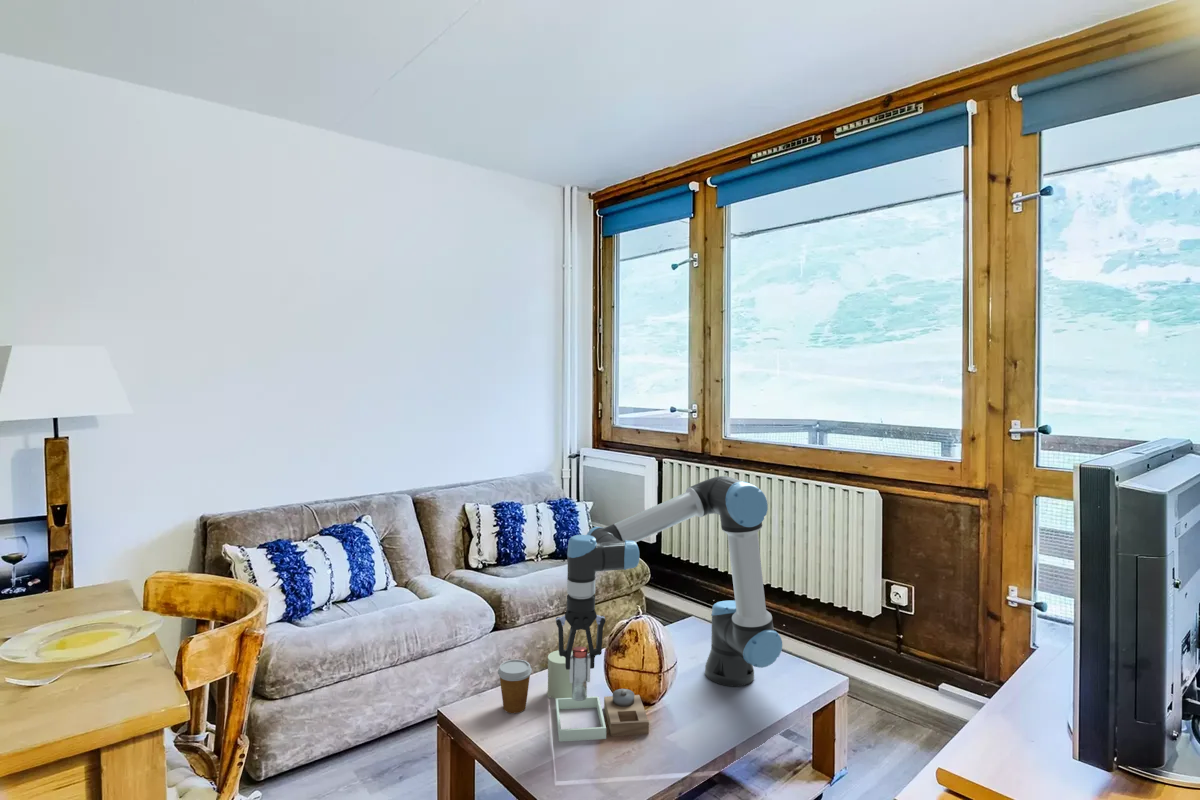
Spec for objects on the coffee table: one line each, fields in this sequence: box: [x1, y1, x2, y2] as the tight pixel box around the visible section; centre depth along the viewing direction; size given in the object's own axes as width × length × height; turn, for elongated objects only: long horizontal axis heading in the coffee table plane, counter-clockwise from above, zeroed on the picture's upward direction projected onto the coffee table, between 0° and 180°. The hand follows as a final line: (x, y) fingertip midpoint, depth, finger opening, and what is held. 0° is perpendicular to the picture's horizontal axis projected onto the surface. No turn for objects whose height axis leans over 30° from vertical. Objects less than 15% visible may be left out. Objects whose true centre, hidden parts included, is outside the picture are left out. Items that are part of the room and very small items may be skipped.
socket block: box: [603, 688, 650, 737], centre depth 175 cm, size 14×10×7 cm
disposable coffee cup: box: [497, 658, 533, 714], centre depth 182 cm, size 10×10×12 cm
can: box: [546, 649, 573, 700], centre depth 190 cm, size 9×9×12 cm
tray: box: [555, 695, 607, 742], centre depth 174 cm, size 16×12×4 cm
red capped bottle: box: [572, 645, 589, 701], centre depth 173 cm, size 4×4×13 cm
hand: (579, 679), depth 173 cm, fingers closed on red capped bottle, 4 cm apart
